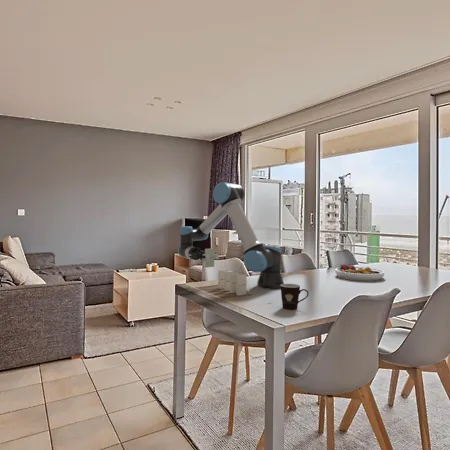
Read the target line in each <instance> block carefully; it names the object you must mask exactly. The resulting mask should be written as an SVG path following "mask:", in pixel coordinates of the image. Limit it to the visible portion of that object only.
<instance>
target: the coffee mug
mask: <svg viewBox="0 0 450 450" xmlns="http://www.w3.org/2000/svg"><path fill="white" fill-rule="evenodd" d="M280 286H281V288H280V293H281V295H280V297H281V305H282V309H284V310H288V311H289V310H290V311H293V310H297V309H298V304H299V303H301V302H302V301H304V300H306V299H307V298H308V297H309V291H308V290H307V289H305V288H303V289H302V288H301V285H299V284H296V283H284V284H281V285H280ZM303 291H305V292H306V293H307V294H306V295H305V297H304V298H302V299H299V297H300V295H301V292H303Z"/></svg>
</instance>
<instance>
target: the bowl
mask: <svg viewBox="0 0 450 450" xmlns="http://www.w3.org/2000/svg"><path fill="white" fill-rule="evenodd" d="M335 274H336V276H337V277H338V278H340V279H343V280H349V281H359V282H374V281H380V280H381V279H382V278H384V276H385V271H384V270H381V269H377V268H372V267H369V266H367V267H361V266H355V265H354V264H349V265H348V264H347V263H343V264H341V265H340V266H339V267H337V268H335Z"/></svg>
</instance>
